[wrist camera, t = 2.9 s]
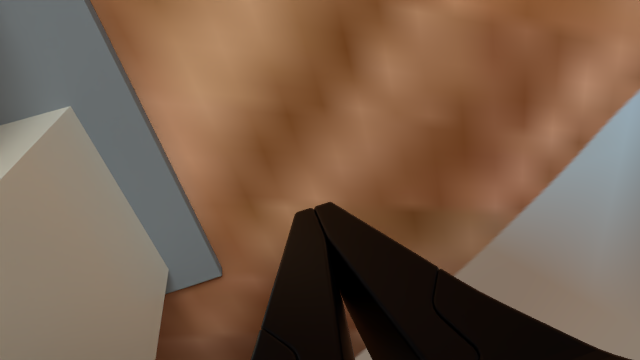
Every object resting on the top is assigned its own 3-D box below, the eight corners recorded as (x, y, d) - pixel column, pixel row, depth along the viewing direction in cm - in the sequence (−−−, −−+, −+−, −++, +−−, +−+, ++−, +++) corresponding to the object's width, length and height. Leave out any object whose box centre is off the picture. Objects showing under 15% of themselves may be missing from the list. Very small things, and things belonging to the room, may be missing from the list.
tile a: (168, 269, 13) (130, 528, 7) (108, 288, 13) (18, 570, 7) (70, 105, 10) (-146, 332, 4) (-12, 128, 10) (-365, 401, 4)
